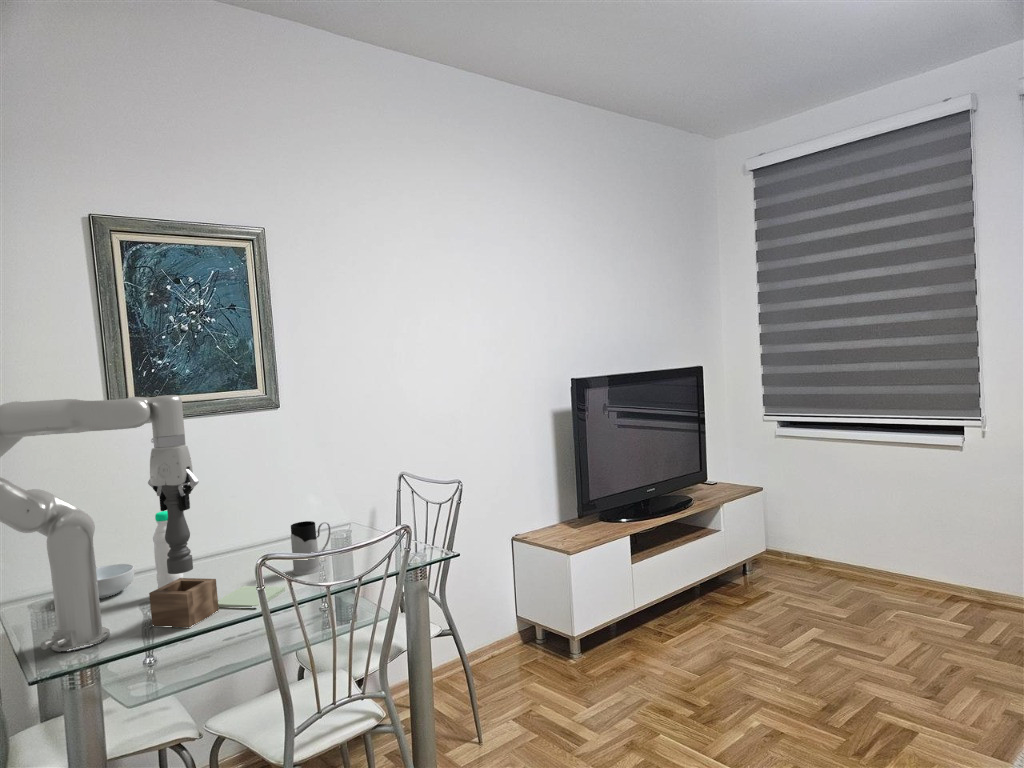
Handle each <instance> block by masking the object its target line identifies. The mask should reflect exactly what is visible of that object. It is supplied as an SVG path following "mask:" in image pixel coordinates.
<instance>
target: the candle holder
mask: <svg viewBox="0 0 1024 768" xmlns="http://www.w3.org/2000/svg"><path fill="white" fill-rule="evenodd" d="M161 487H162V491H163V494H164V495H165V497H166V500H165V501H164V504H165V505H166V506H167V510H166V511H167V512H168V520H167V527H166V533H165V540H166V542H167V543H168V544H169V547H170V548H171V549H170V550H169V552H168V554H167V556H168V557H169V558H168V559H167V570H168V573H169V574H180V573H183V574H184V573H188V572H190V571H192V570H193V569H194V564H193V561H194V560H193V555H192V554H191V553H192V552H191V548H189V546H187V545H188V542H189V540H190V538H191V532H190V528H189V526H188V524H187V519H186V517H185V512H184V511H180V508H179V496H181V495H180V492H179V489H178V486H169V485H166V483H165V485H163V486H161ZM183 488H184V486H183ZM184 489H185V488H184Z"/></svg>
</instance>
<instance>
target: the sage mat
mask: <svg viewBox="0 0 1024 768" xmlns="http://www.w3.org/2000/svg"><path fill="white" fill-rule="evenodd" d="M256 587H257V586H253V585H251V586H247V585H243V586H241V587H239V588H238V589H237V588H236V590H234V591H232V592H230V593H229V594H227V595H225V596H223V597H222V598H220V599H218V607H252V606H258V605H259V601H258V595H257V591H256ZM264 587H265V591H266V595H267V599H268V602H270V601H271V600H273V599H275V598H276V597H278V596H279V595H280V594H282V593H283V592H286V588H285V586H264ZM272 598H273V599H272ZM269 600H270V601H269Z"/></svg>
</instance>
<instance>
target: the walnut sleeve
mask: <svg viewBox="0 0 1024 768" xmlns="http://www.w3.org/2000/svg"><path fill="white" fill-rule="evenodd" d="M217 589H218V588H217V579H216V578H192V577H189V578H188V577H183V578H179V579H177V580H175V581H173V582H171V583H169V584H167V585H165V586H163V587H161V588H158V587H157V589H155V590H153V591H151V592H148V596H149V606H150V607H149V608H150V615H151V616H150V617H151V625H152V624H153V625H154V626H172V627H191V626H192V625H194V624H196V623H198V622H200V621H201V622H203V621H205V620H206V619H208V618H210V617H211V616H213V615H214V614H213V613H215V612H216V611H218V610H220V608H218V600H219V599H218V597H219V596H218V590H217ZM218 612H219V611H218ZM216 613H217V612H216ZM216 613H215V614H216ZM212 614H213V615H212ZM210 615H211V616H210ZM209 616H210V617H209ZM207 617H208V618H207ZM205 618H206V619H205ZM204 619H205V620H204ZM202 620H203V621H202ZM201 622H200V623H201ZM198 624H199V623H198ZM196 625H197V624H196ZM191 628H192V627H191Z"/></svg>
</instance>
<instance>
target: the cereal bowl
mask: <svg viewBox="0 0 1024 768" xmlns="http://www.w3.org/2000/svg"><path fill="white" fill-rule="evenodd" d="M96 573H97V582H98V592H99V598H102V599H106V598H105V597H107V598H110V597H109V596H111V597H113V596H116V595H118V594H119V593H120V592H121V591H122V590H124V589H126V588H128V587H129V586H130V585H131V584H132V582H133V581H134V577H135V566H134V565H133V564H130V563H128V564H127V563H115V564H108V565H102V566H96ZM117 593H118V594H117ZM115 594H116V595H115ZM112 595H113V596H112Z"/></svg>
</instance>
